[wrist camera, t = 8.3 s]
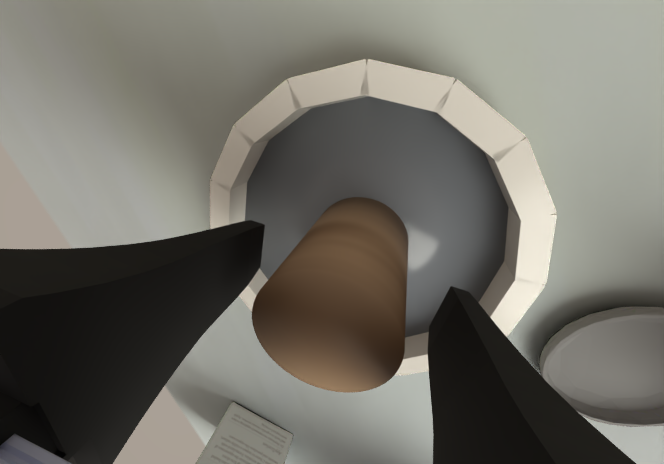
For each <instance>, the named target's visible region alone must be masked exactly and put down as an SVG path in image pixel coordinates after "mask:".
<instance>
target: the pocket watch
mask: <svg viewBox="0 0 664 464" xmlns="http://www.w3.org/2000/svg"><path fill="white" fill-rule="evenodd" d="M539 367H540V372H541V376H542V377H543V378H544V379H545V381H546V382H547V383H548V384H549V385H550V386H551V387H552V388H553V389H554V390H555V391H557V392H558V393H559V394H560V395H561V396H562V397H563V398H564V399H565V400H566V401H567V402H568V403H569V404H570V405H571V406H572V407H573V408H574V409H575V410H576V411H577V412H578V413H579V414H580V415H582V416H584V417H586V418H589V419H591V420H594V421H598V422H602V423H606V424H612V425H620V426H628V427H640V426H664V308H663V307H619V308H614V309H610V310H606V311H601V312H597V313H593V314H588V315H586V316H584V317H582V318H580V319H578V320H576V321H574V322H572V323H569V324H567V325H566V326H564V327H563V328H562V329H561V330H560V331H558V332H557V333H556V334H555V335H554V336H552V337H551V338H550V340H549V341H548V342H547V344H546V345H545V346H544V349H543V351H542V353H541V356H540V364H539Z"/></svg>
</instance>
